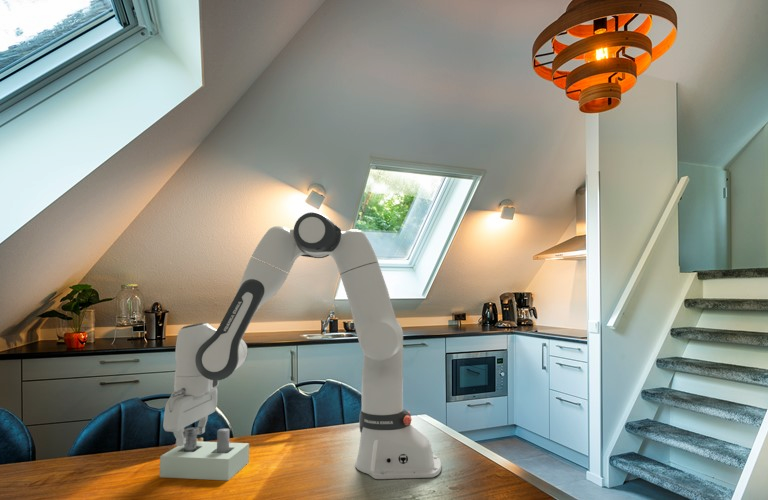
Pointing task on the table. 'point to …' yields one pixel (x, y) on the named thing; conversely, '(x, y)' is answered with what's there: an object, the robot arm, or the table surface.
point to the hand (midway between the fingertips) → (191, 439)
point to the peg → (190, 439)
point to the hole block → (206, 459)
